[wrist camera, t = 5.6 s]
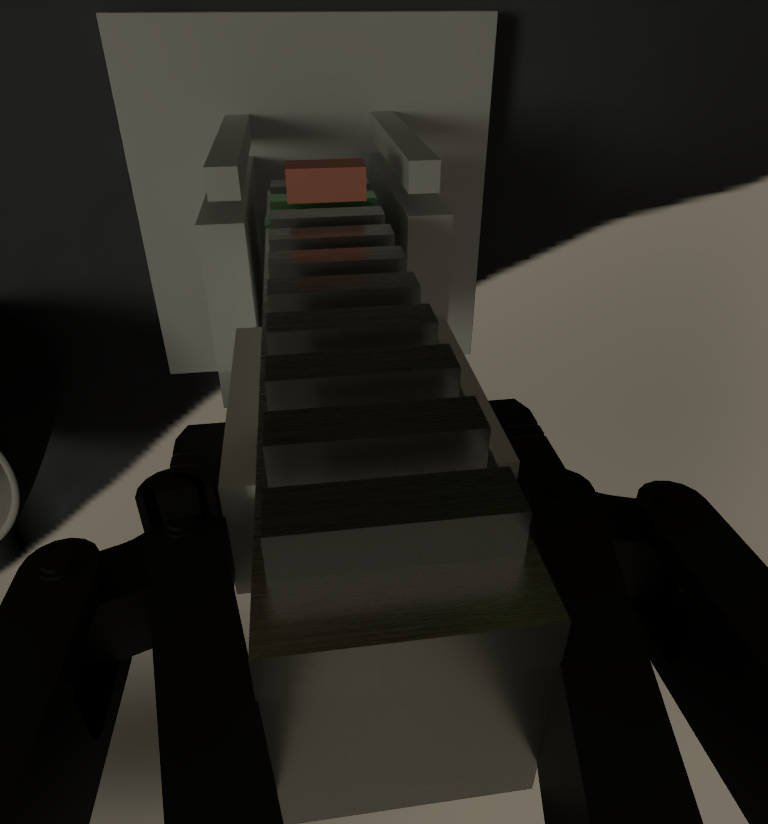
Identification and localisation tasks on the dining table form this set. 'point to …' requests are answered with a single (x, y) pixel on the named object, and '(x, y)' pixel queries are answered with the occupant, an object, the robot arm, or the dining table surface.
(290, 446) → the column
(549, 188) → the dining table surface
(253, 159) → the stand base
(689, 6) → the dining table surface
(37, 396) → the mug
